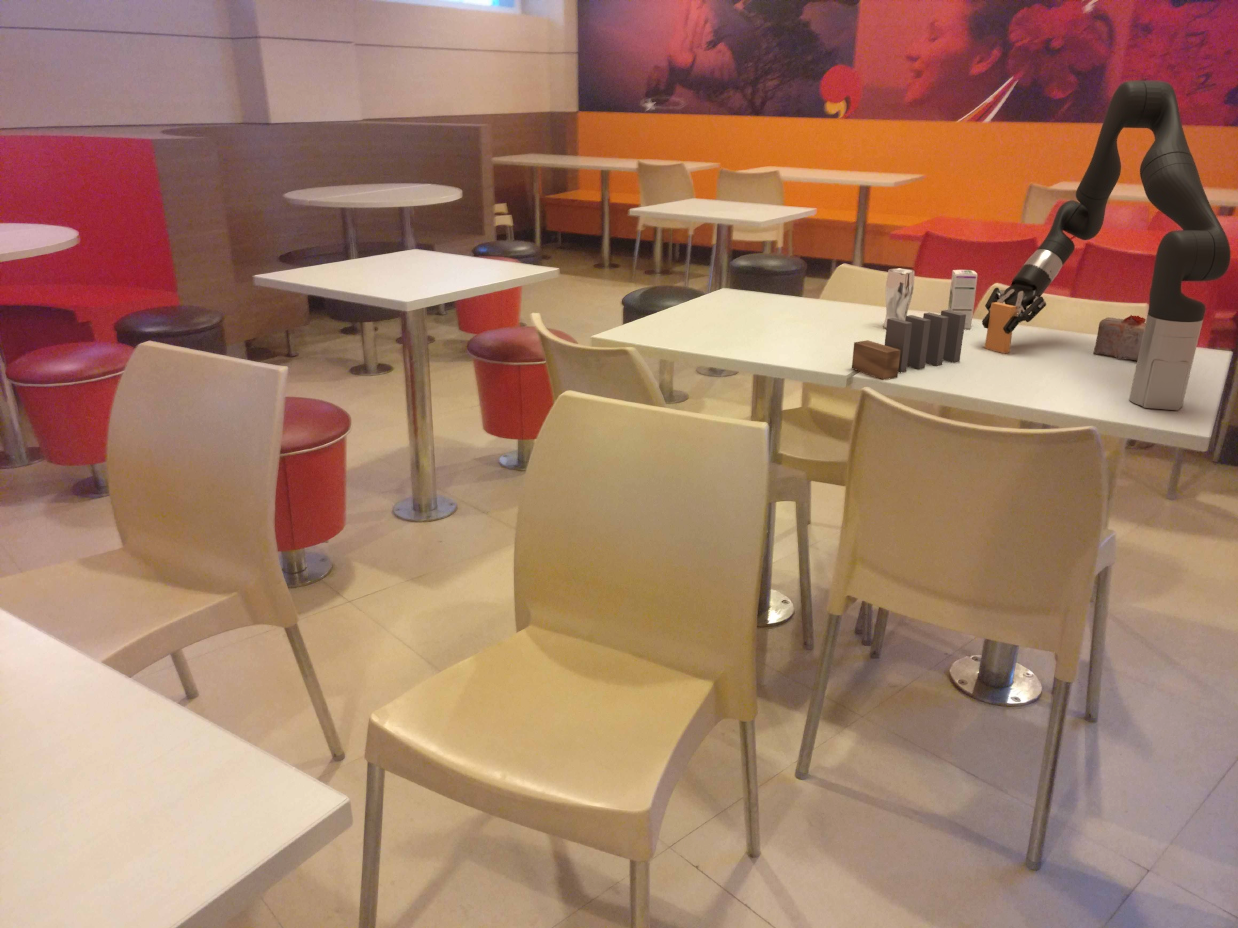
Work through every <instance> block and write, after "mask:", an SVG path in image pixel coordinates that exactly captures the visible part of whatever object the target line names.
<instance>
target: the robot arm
mask: <svg viewBox="0 0 1238 928" xmlns="http://www.w3.org/2000/svg"><path fill="white" fill-rule="evenodd" d="M1177 99H1178V98H1177V94H1176V92H1175V88H1174V86H1172V85H1171V84H1170V83H1169V82H1167V81H1163V80H1126V81H1123V82H1122V83H1121V84H1120V85H1118V87H1117V88H1116V89H1115V91H1114V93H1113V95H1112V97H1111V99H1110V102H1109V105H1108V107H1107V110H1106V113H1105V116H1104V119H1103V122H1102V126H1101V129H1100V132H1099V135H1098V138H1097V140H1096V145H1095V149H1094V151H1093V154H1092V157H1091V159H1090V162H1089V164H1088V165H1087V166H1088V167H1087V169H1086V170H1085V173H1084V174H1083V177H1082V179H1081V180H1080V183H1079V185H1078V187H1077V188H1076V192H1075V198H1076V200H1077V201H1076V200H1072V199H1071V200H1068V201H1065V202H1063V203H1062V204H1061V205H1060V206H1059V207H1058V210H1057V211H1056V213H1055V215H1054V216H1055V217H1054V220H1053V222H1052V225H1051V227H1050V229H1049V231H1048V233H1047V235H1046V237H1045V238H1044V240H1043V241H1042V243H1041V244H1040V245H1039V247H1037V249H1036V250H1035V251H1034V252H1033V253H1032V254H1031V255H1030V257H1028V259H1027V260H1026V261H1025V263H1024V264H1023V265H1022V266H1021V267H1020V269H1019V271H1017V274H1015V276H1014V277H1013V279H1012V281H1011V284H1010V286H1009V287H1007V288H1005V289H1000V288H999V287H995V288H994V289H993V290H992V292H991V294H990V296H989V298H988V300H987V301H986V303H985V305H984V307H985V308H986V310H987V311H988V312H987V314H986V315H985V316H984V317H983V319H982V321H981V324H982V326H983V328H984V329H986V330H987V329H988V325H989V318H990V309H991V303H995V302H998V303H1003V304H1007V305H1012V306H1016V312H1015V313H1014V317H1013V316H1012V317H1011V319H1010V320H1009V321H1008V322H1007V323H1006V325H1005V326H1004V327H1003V330H1004V332H1005V333H1007V334H1009V333H1010V332H1012V333H1013V331H1014V330H1015V329H1016V327H1018V325H1019V324H1020V323H1023V322H1026V323H1029V322H1031V321H1032V320H1034V318H1035V317H1036V316H1037V315H1038V314H1039V313H1040V312H1041V311H1042V310H1043V309H1044V308H1045V307H1047V302H1046V300H1045V299H1044V297H1043V296H1042V295H1043V294H1044V293H1045V291H1046V290H1047V289H1048V288H1049V286H1050V285H1051V284H1052V282H1053V281H1054V279H1055V278H1056V277H1057V275H1058V274H1059V273H1060V270H1061V269H1062V268H1063V266H1064V265H1065V263H1066V262H1067V261H1068V260H1069V258H1071V256H1072V254H1073V253H1074V251H1075V246H1076V245H1075V243H1074V241H1073V240H1072V239H1071V238H1070V237H1069V236H1068V235H1067V234H1069V235H1071V236H1073V237H1075V238H1077V239H1080V240H1082V241H1088V240H1092V239H1093V238H1095V237H1096V236H1097V235H1098V234H1099V233H1100V232H1101V229H1102V227H1103V224H1104V220H1105V215H1106V209H1107V204H1108V200H1109V198H1110V196H1111V194H1112V192H1113V191H1114V189H1115V187H1116V184H1117V183H1118V181H1119V179H1120V177H1121V171H1122V163H1121V157H1120V153H1119V149H1118V138H1119V136H1120V133H1122V130H1123V129H1124V128H1125V129H1149V130H1151V132H1152V134H1153V136H1154V140H1153V143H1152V145H1150V147H1149V148H1148V150H1147V152H1146V154H1145V155H1144V157H1143V159H1142V161H1141V163H1140V167H1139V176H1140V181H1141V183H1142V186H1143V189H1144V190H1143V191H1144V193H1145V196H1146V197H1147V199H1148V201H1149V202H1150V204H1152V206H1154V207H1155V208H1156V209H1157V210H1158V211H1159V212H1161V213H1162V214H1164V215H1165V216H1166V217H1167V218H1169V219H1170V220H1172V221H1173V222H1174V223H1175V224H1176V225H1178V226H1179V227H1180V228H1181V229H1182V230H1180V229H1179V230H1170V231H1169V232H1167V233H1166V234H1165V235H1164V236H1163V237H1162V238H1161V240H1160V242H1159V244H1158V247H1157V251H1156V255H1155V260H1154V266H1153V272H1152V277H1151V278H1152V279H1151V283H1150V290H1149V297H1148V298H1149V302H1148V303H1149V305H1148V311H1147V314H1146V316H1147V317H1146V318H1145V319H1146V320H1145V323H1146V324H1145V328H1144V333H1143V337H1142V342H1141V346H1140V351H1139V355H1138V360H1137V361H1136V365H1135V370H1134V374H1133V379H1132V385H1131V389H1130V393H1129V398H1128V399H1129V401H1130V402H1131V403H1133V404H1135V405H1138V406H1141V407H1142V408H1144V409H1154V410H1155V409H1156V410H1169V411H1179V410H1180V408H1182V407H1183V405H1184V400H1185V396H1186V392H1187V389H1188V383H1189V379H1190V376H1191V371H1192V367H1193V362H1194V358H1195V355H1196V350H1197V346H1198V342H1199V338H1200V333H1201V329H1202V326H1203V323H1204V319H1205V316H1206V315H1205V314H1206V308H1207V307H1206V305H1205V303H1203V302H1202V301H1199V300H1197V299H1194V298H1192V297H1189V296H1187V295H1185V294H1184V293H1183V292H1182V283H1183V282H1210V281H1215V280H1218V279H1220V278H1222V277H1223V276H1225V274H1226V273H1227V272H1228V269H1229V266H1230V263H1231V257H1232V256H1231V255H1232V254H1231V246H1230V242H1229V239H1228V236H1227V234H1226V232H1225V229H1224V228H1223V226H1222V225H1221V223H1220V220H1219V219H1218V217H1217V216H1216V215H1217V214H1215V213H1216V212H1215V211H1214V210H1213V208H1212V206H1211V204H1210V202H1209V199H1208V196H1207V194H1206V191H1205V189H1204V187H1203V183H1202V180H1201V177H1200V173H1199V170H1198V168H1197V165H1196V162H1195V159H1194V157H1193V154H1192V152H1191V150H1190V147H1189V145H1188V141H1187V138H1186V135H1185V131H1184V128H1183V125H1182V121H1181V119H1182V118H1181V116H1180V115H1181V113H1180V110H1179V109H1180V108H1179V103H1178V100H1177ZM1066 233H1067V234H1066Z"/></svg>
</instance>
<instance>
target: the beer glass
mask: <svg viewBox="0 0 1238 928" xmlns="http://www.w3.org/2000/svg"><path fill="white" fill-rule="evenodd" d="M914 288H915V270H913V269H909V268H890V269H888V272H887V277H886V282H885V292H884V293H885V295H884V296H885V307H886V308H885V309H886V311H885V313H886V314H885V319H884V321H883V322H884V323H883V326H882V327H883V329H885V330H886V327H887V319H889V318H896V319H900V320H904V321H905V319H906V316H908V311H909V308H910V305H911V302H912V298H913V295H914Z"/></svg>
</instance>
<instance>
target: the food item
mask: <svg viewBox="0 0 1238 928" xmlns="http://www.w3.org/2000/svg"><path fill="white" fill-rule="evenodd" d="M1146 319H1147V318H1144V317H1142V316H1140V315H1132V314H1130V315H1129V316H1127V317H1125V318H1117V317H1105V318H1103V319H1102V320H1100V321H1099V324H1098V328H1097V329H1098V330H1097V335H1096V339H1095V345H1094V349H1093V354H1094V355H1100V356H1101V355H1102V356H1106V357H1111V358H1112V357H1113V358H1116V359H1117V360H1126V361H1127V360H1131V361H1135V362H1137V360H1138V355H1139V351H1140V346H1141V342H1142V337H1143V333H1144V328H1145V324H1146Z"/></svg>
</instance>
